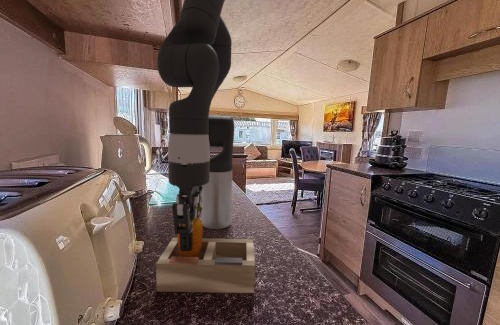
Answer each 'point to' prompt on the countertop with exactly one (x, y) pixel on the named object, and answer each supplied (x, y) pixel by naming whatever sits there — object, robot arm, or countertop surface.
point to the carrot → (194, 238)
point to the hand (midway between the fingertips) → (189, 242)
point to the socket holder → (208, 267)
